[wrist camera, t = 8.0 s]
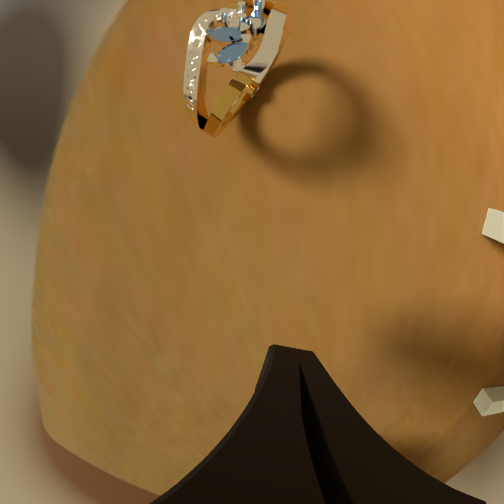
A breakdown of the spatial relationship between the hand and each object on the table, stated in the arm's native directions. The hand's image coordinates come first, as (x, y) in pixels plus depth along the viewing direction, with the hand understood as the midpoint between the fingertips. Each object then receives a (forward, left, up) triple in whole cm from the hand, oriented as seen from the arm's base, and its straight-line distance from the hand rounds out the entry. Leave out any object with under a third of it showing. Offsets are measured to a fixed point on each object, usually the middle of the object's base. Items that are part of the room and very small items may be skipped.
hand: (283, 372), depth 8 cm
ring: (+10, +4, -10) cm, 14 cm away
